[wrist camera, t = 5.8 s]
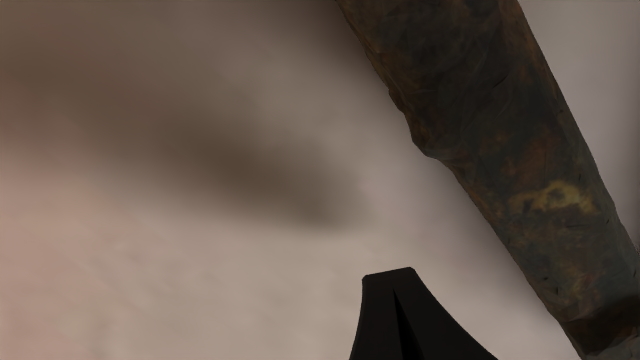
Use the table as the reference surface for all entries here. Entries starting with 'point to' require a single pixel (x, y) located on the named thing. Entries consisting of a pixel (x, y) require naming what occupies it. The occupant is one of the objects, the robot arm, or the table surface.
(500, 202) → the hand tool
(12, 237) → the table surface
